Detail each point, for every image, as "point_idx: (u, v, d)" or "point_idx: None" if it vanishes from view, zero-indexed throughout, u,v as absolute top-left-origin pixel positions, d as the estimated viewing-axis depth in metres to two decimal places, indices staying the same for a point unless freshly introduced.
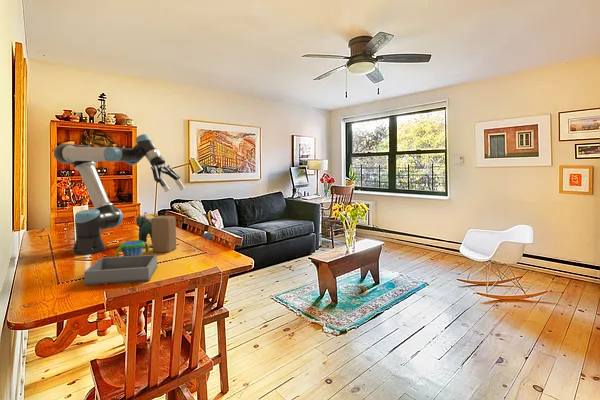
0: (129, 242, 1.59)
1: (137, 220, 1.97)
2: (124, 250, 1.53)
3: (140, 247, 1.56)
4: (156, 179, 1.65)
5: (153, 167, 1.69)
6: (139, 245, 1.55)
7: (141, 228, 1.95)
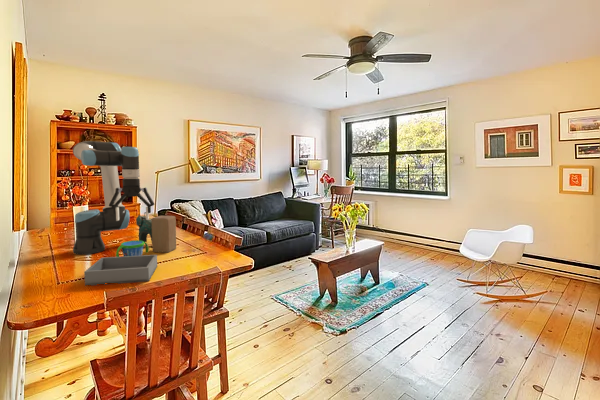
0: (129, 242, 1.59)
1: (137, 220, 1.97)
2: (124, 250, 1.53)
3: (140, 247, 1.56)
4: (109, 205, 1.53)
5: None
6: (139, 245, 1.55)
7: (141, 228, 1.95)
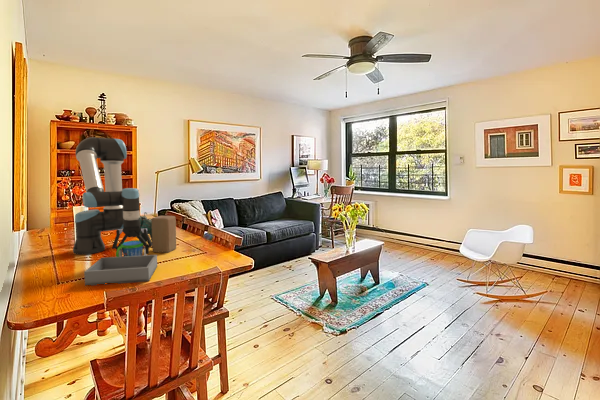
0: (129, 242, 1.59)
1: None
2: (124, 250, 1.53)
3: (140, 247, 1.56)
4: None
5: None
6: (139, 245, 1.55)
7: (141, 228, 1.95)
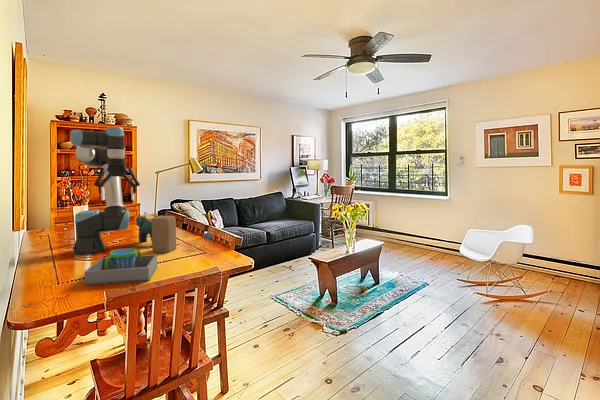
0: (119, 250, 1.40)
1: (137, 220, 1.97)
2: (114, 260, 1.34)
3: (132, 256, 1.37)
4: None
5: None
6: (131, 254, 1.36)
7: (141, 228, 1.95)
